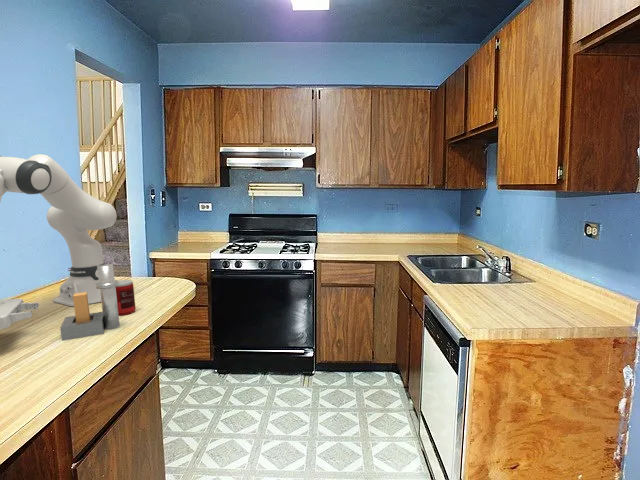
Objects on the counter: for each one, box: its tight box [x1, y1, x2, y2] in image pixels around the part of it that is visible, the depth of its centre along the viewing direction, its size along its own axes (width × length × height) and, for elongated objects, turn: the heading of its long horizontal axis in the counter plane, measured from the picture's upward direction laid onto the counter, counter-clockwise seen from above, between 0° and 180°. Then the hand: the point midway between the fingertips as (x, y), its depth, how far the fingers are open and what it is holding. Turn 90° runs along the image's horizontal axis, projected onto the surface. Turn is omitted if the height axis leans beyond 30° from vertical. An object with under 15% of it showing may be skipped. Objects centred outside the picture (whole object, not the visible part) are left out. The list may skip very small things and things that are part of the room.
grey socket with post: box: [59, 263, 121, 341], centre depth 131 cm, size 16×11×20 cm
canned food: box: [116, 279, 137, 317], centre depth 149 cm, size 8×8×11 cm
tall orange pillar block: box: [73, 292, 91, 323], centre depth 130 cm, size 4×4×12 cm
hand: (35, 309), depth 125 cm, fingers open, 8 cm apart
